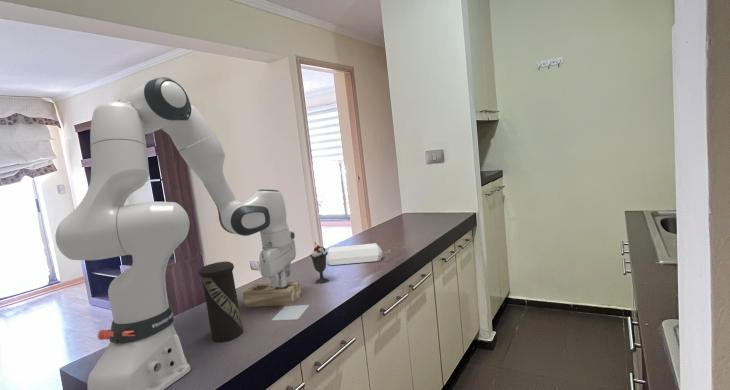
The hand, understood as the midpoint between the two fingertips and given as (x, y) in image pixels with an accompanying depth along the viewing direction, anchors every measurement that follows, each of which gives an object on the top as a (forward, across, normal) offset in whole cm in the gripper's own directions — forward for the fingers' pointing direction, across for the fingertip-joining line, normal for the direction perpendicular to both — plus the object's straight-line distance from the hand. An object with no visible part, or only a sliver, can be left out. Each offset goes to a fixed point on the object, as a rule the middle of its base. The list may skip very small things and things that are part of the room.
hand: (282, 281), depth 125 cm
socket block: (+7, 0, +4) cm, 8 cm away
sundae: (+7, +18, -7) cm, 21 cm away
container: (+7, -23, +7) cm, 25 cm away
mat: (+7, -10, -6) cm, 13 cm away
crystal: (+7, +41, -14) cm, 44 cm away
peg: (+7, 0, 0) cm, 7 cm away
